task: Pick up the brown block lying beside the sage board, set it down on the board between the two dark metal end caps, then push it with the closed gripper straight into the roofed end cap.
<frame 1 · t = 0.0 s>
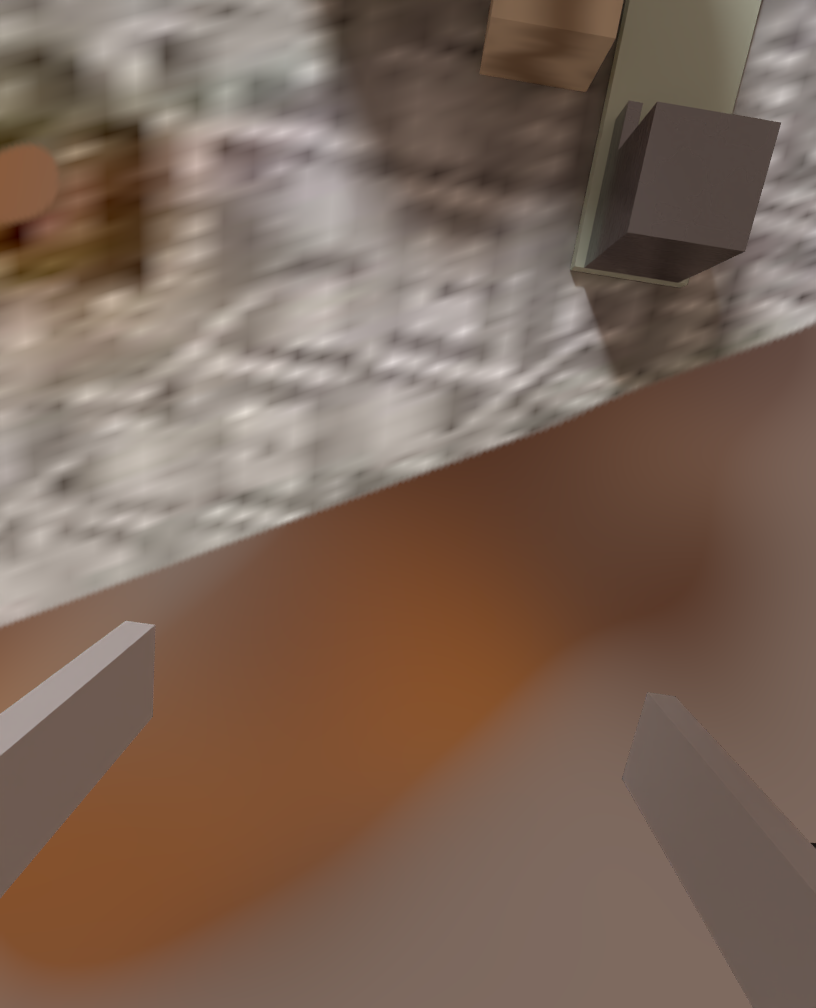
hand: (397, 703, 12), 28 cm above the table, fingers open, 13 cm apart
cap a: (637, 223, 34), resting on board
board: (672, 73, 32), on the table
brown block: (537, 52, 32), on the table
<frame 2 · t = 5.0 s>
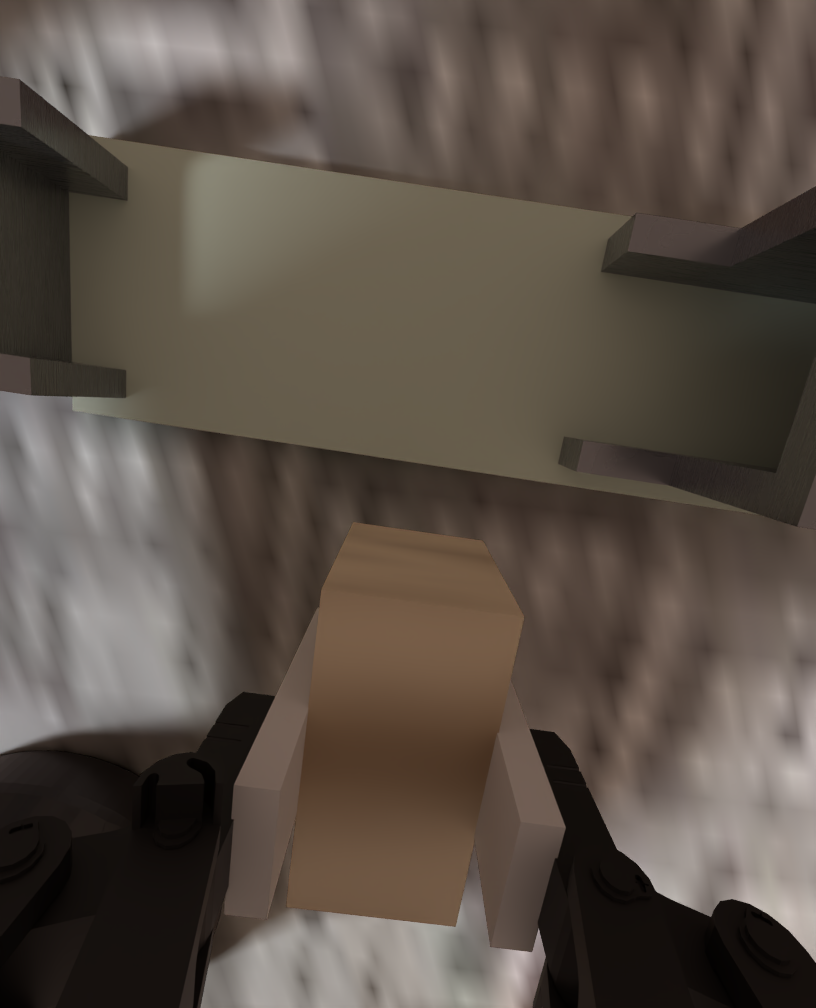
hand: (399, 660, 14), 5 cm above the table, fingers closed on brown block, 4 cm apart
cap a: (733, 384, 16), resting on board
board: (465, 344, 16), on the table
brown block: (399, 648, 14), point 4 cm above the table, touching gripper
cap b: (118, 291, 16), resting on board
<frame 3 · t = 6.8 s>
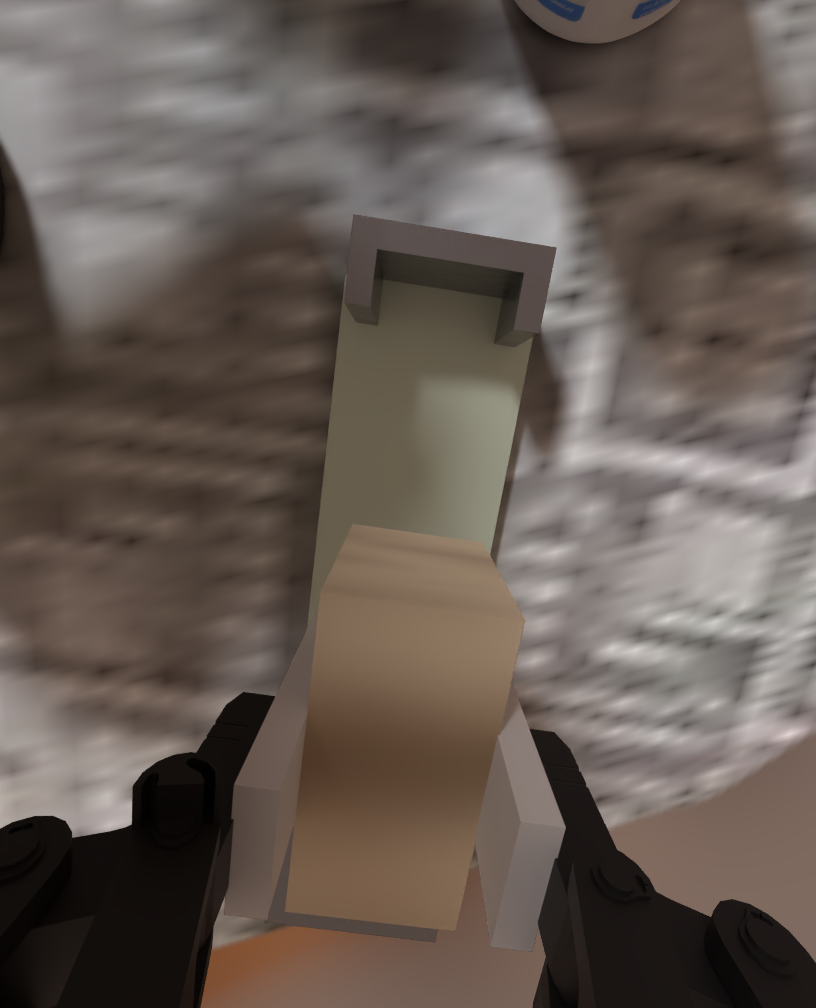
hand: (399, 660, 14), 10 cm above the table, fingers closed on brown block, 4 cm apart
cap a: (375, 725, 26), resting on board
board: (399, 567, 24), on the table
brown block: (399, 650, 14), point 10 cm above the table, touching gripper
cap b: (438, 316, 21), resting on board
when the fingers open (1 cm above the table, at t = 8.6 s): brown block stays where it is, resting on board.
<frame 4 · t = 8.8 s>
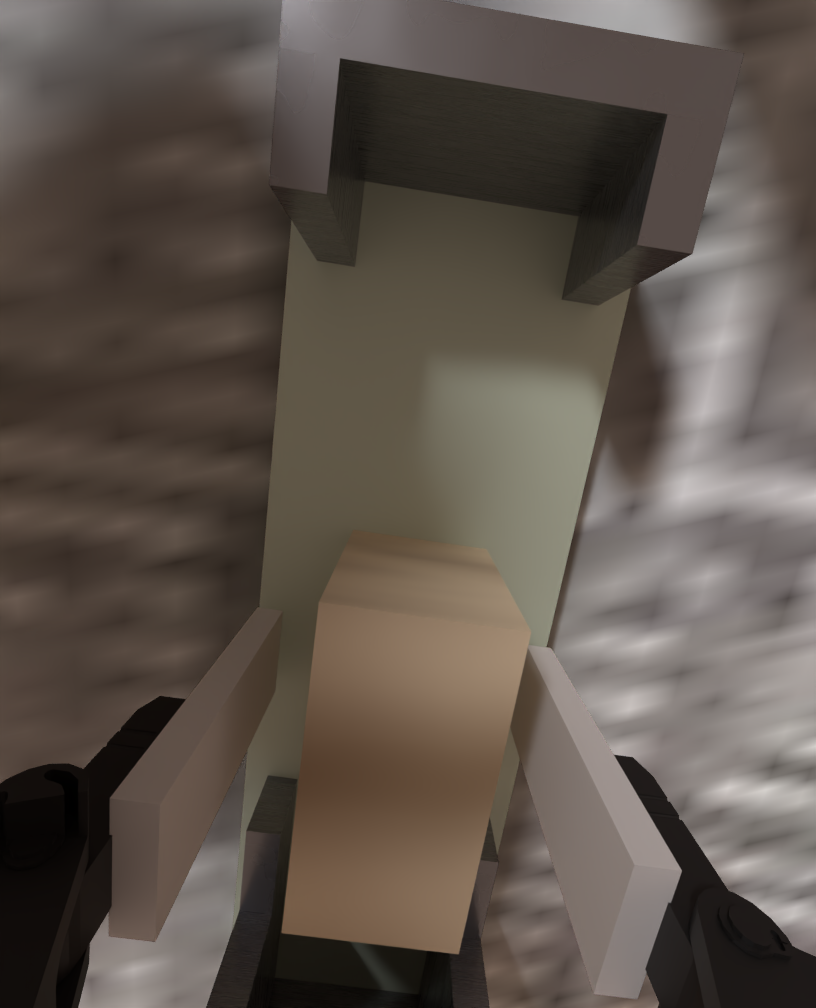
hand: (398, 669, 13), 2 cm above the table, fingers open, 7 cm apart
cap a: (359, 896, 17), resting on board
board: (395, 667, 15), on the table
brown block: (400, 659, 14), point 1 cm above the table, touching board
cap b: (461, 255, 12), resting on board
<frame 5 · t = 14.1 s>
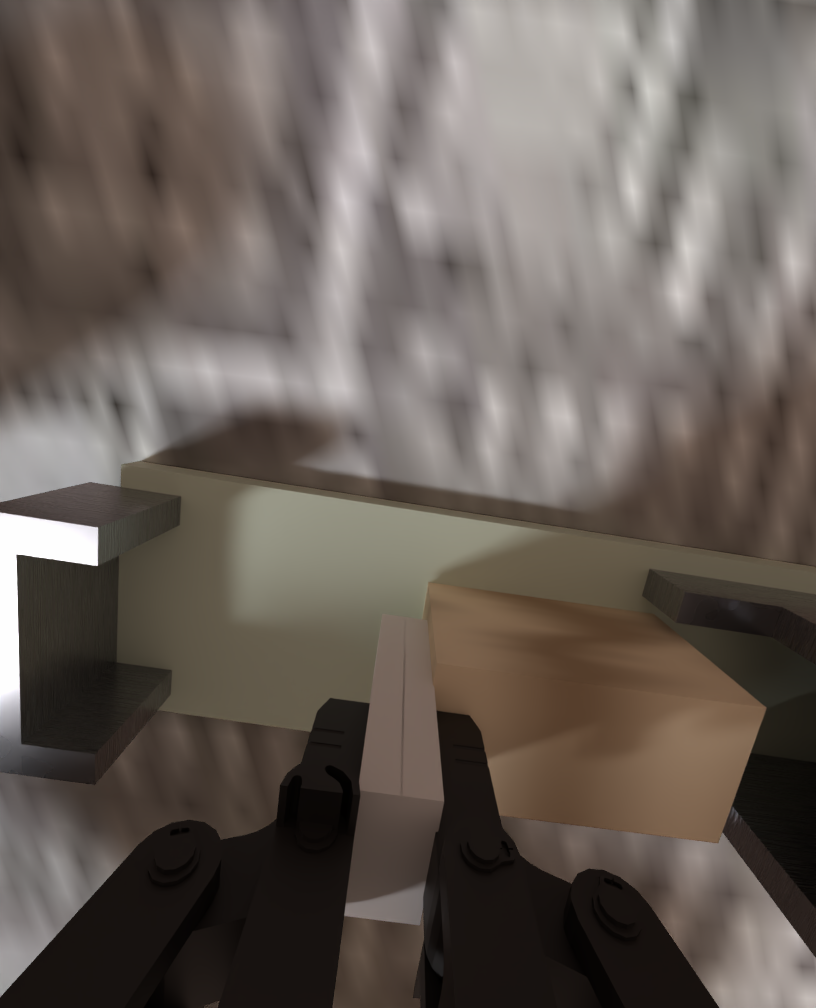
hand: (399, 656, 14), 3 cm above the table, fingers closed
cap a: (760, 673, 17), resting on board
board: (506, 636, 17), on the table
brown block: (530, 649, 16), point 1 cm above the table, touching gripper
cap b: (162, 584, 16), resting on board
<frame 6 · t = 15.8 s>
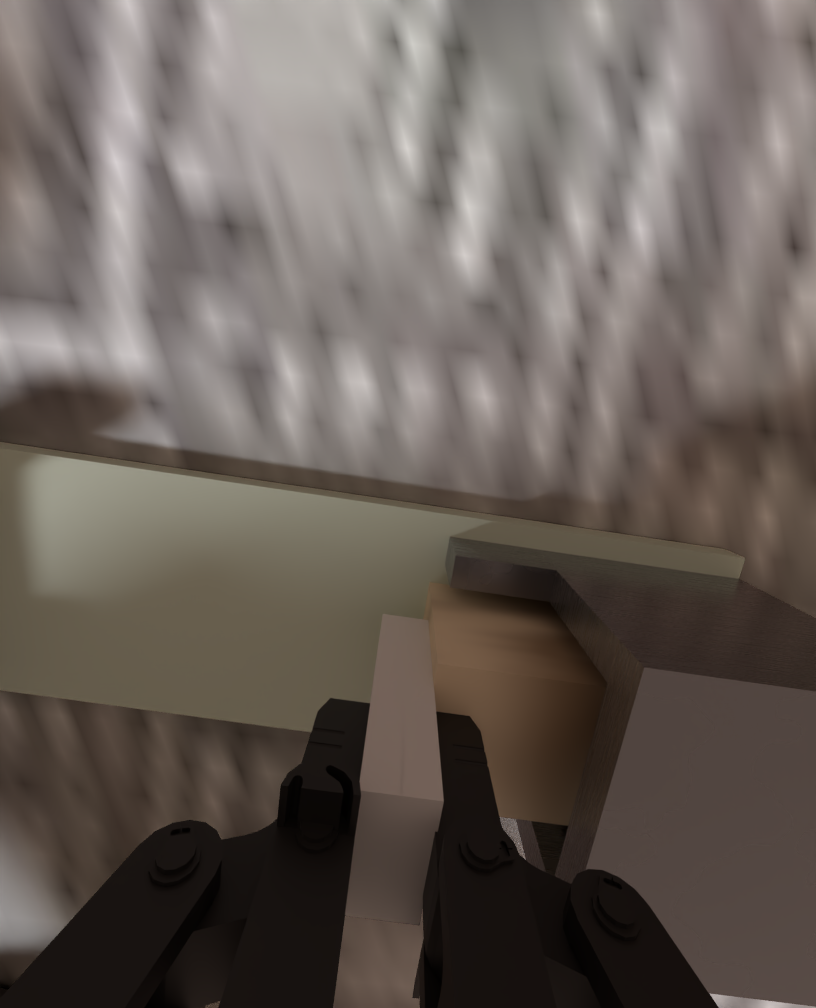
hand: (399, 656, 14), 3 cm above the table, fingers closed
cap a: (587, 646, 17), resting on board
board: (325, 609, 17), on the table
brown block: (531, 650, 16), point 1 cm above the table, touching board, gripper
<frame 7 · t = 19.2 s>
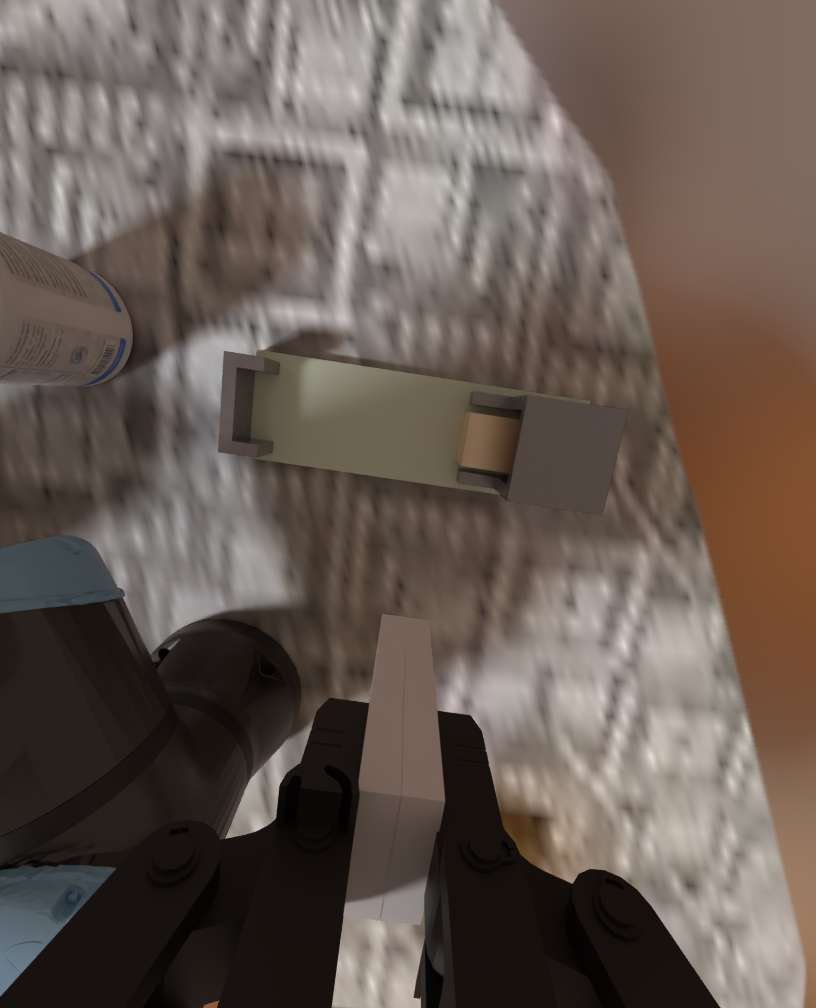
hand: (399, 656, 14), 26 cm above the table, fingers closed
cap a: (529, 446, 39), resting on board
board: (416, 429, 39), on the table
brown block: (504, 442, 38), point 1 cm above the table, touching board
cap b: (268, 407, 38), resting on board
supplement tub: (83, 330, 37), on the table
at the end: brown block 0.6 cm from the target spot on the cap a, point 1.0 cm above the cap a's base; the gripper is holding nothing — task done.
